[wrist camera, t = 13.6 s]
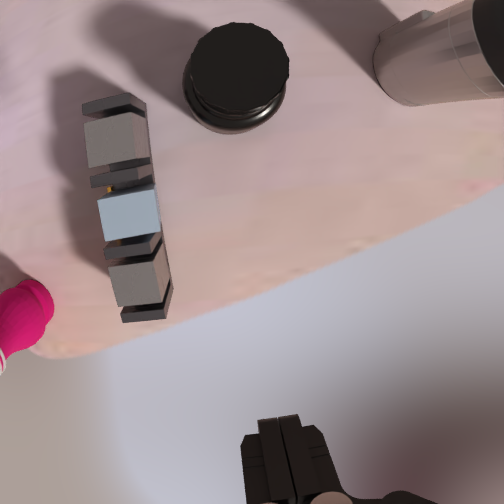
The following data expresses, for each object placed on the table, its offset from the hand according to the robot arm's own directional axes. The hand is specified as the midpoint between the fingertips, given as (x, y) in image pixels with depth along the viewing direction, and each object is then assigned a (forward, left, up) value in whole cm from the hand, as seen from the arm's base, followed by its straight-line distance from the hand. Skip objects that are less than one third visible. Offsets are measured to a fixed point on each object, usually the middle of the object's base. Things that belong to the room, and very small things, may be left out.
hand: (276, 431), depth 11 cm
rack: (-6, -10, -26) cm, 28 cm away
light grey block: (-6, -10, -25) cm, 27 cm away
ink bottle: (-16, +1, -26) cm, 30 cm away
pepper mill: (+4, -27, -26) cm, 37 cm away
